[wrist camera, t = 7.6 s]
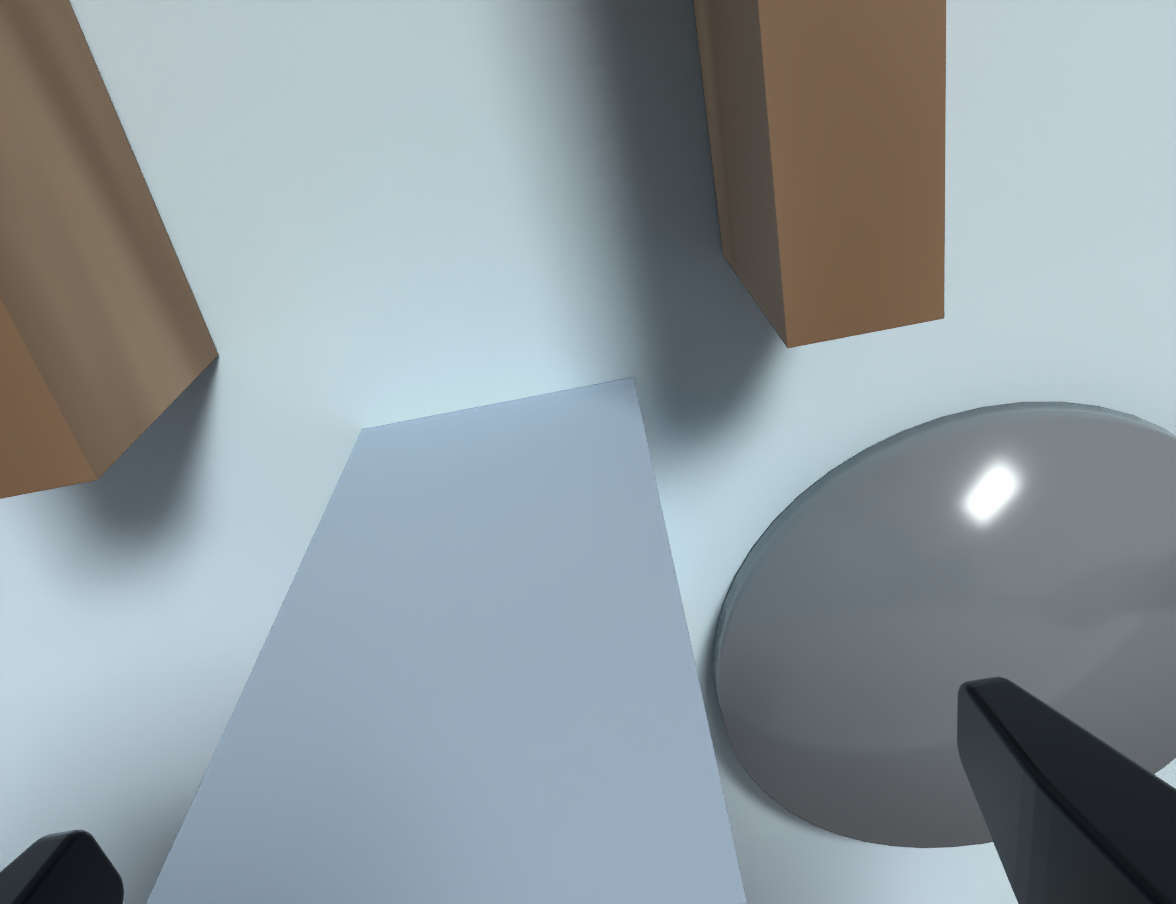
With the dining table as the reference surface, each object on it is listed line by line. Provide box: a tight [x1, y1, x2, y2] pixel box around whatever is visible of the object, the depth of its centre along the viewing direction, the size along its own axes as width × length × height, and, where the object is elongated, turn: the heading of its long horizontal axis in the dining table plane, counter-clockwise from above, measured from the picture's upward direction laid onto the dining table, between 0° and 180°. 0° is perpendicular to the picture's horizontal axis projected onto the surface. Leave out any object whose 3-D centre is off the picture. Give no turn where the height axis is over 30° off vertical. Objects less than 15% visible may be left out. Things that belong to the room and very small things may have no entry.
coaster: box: [713, 402, 1176, 848], centre depth 14 cm, size 9×9×1 cm
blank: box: [146, 378, 747, 904], centre depth 10 cm, size 4×4×8 cm
